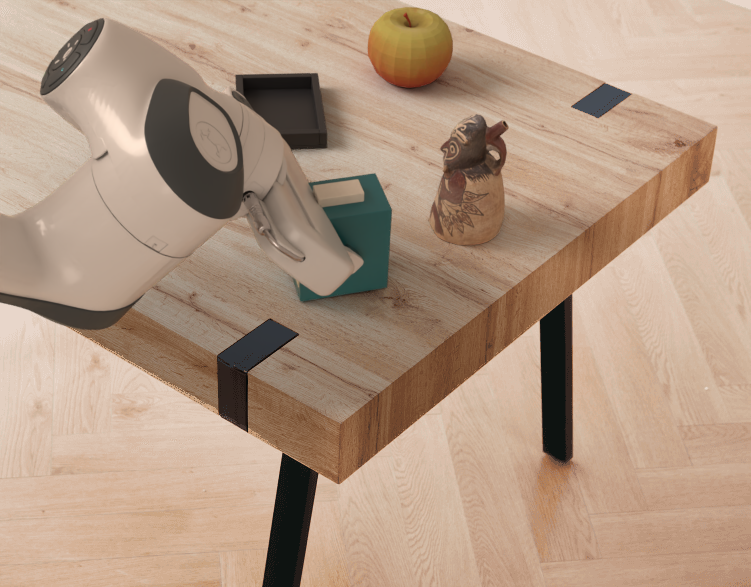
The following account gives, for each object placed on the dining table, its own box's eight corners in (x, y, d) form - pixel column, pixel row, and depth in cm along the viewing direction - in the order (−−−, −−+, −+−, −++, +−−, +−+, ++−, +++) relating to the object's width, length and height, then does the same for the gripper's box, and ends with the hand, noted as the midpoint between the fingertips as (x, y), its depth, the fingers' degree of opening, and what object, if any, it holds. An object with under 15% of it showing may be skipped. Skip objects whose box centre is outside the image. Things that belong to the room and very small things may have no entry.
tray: (317, 87, 122) (317, 72, 121) (326, 148, 113) (327, 132, 112) (235, 89, 121) (235, 74, 120) (238, 150, 112) (238, 135, 111)
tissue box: (387, 287, 96) (392, 201, 90) (299, 302, 95) (297, 215, 88) (371, 250, 100) (375, 164, 93) (286, 263, 98) (284, 177, 91)
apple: (350, 66, 126) (352, 3, 120) (420, 48, 130) (425, -14, 124) (394, 106, 120) (398, 41, 114) (466, 86, 124) (473, 22, 118)
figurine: (440, 195, 108) (451, 90, 100) (509, 210, 106) (526, 106, 98) (420, 236, 103) (430, 130, 95) (492, 253, 101) (509, 147, 93)
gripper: (294, 209, 77) (411, 289, 86) (226, 76, 92) (332, 156, 101) (236, 268, 79) (357, 341, 88) (178, 128, 94) (287, 203, 103)
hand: (343, 241), depth 95 cm, fingers closed on tissue box, 5 cm apart
